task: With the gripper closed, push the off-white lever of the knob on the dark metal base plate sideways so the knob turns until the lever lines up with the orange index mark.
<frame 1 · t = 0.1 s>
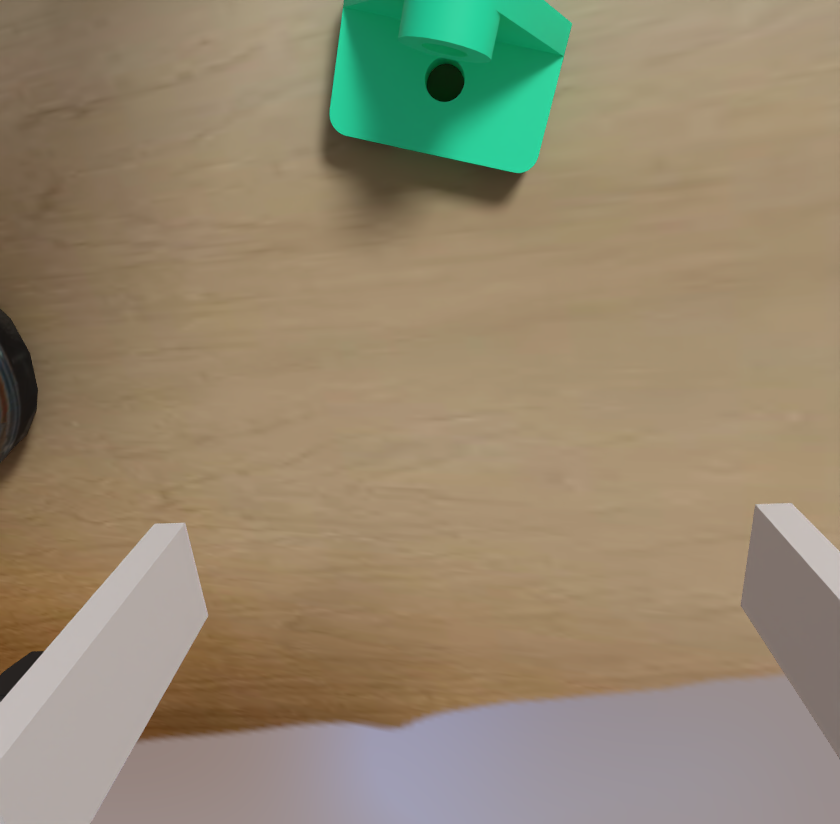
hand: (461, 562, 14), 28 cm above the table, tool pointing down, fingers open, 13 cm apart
camera mount: (445, 86, 36), on the table
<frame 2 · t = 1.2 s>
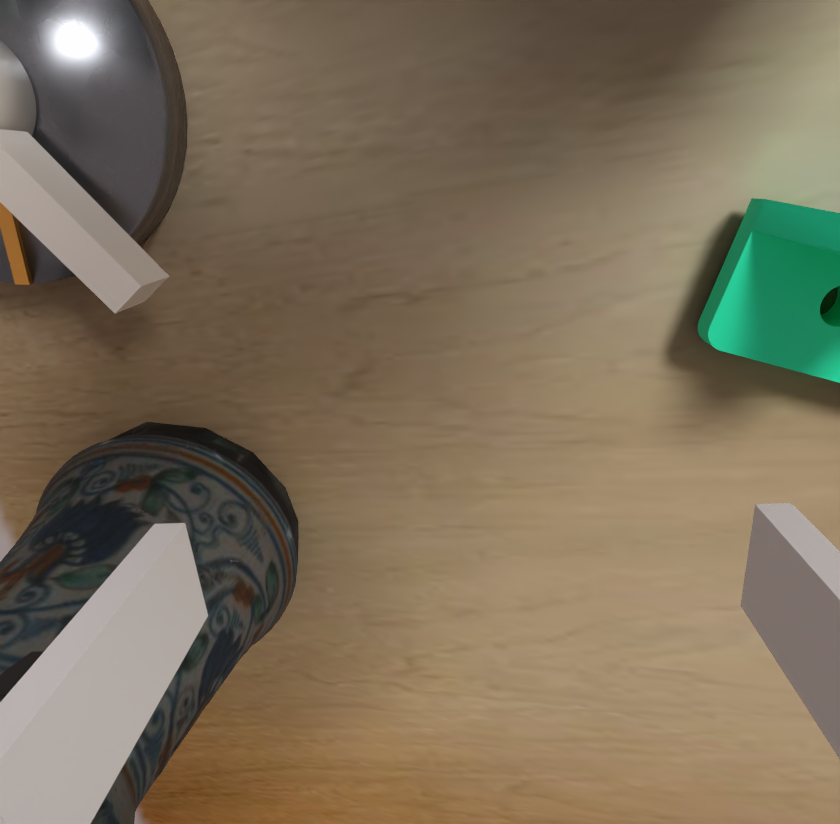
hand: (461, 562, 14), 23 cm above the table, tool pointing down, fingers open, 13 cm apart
camera mount: (812, 295, 34), on the table
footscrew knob: (14, 171, 28), point 6 cm above the table, hinge at 40.0°
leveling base: (20, 104, 32), on the table
beer stein: (196, 545, 42), on the table
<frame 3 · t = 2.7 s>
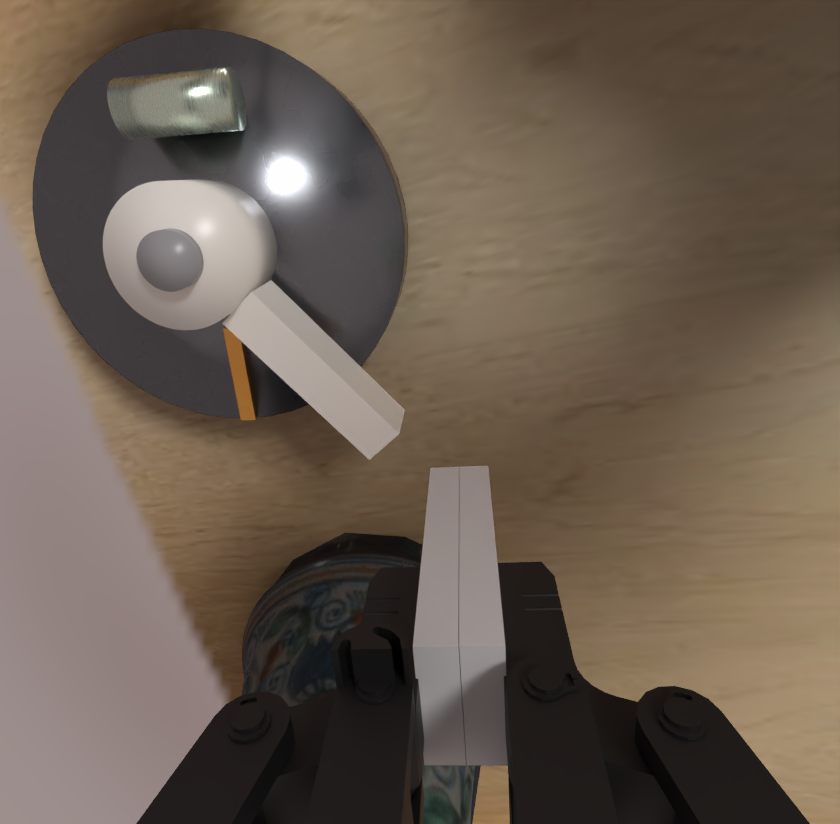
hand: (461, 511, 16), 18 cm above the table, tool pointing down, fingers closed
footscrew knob: (269, 326, 28), point 6 cm above the table, hinge at 40.0°
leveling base: (238, 238, 32), on the table
beer stein: (385, 646, 42), on the table
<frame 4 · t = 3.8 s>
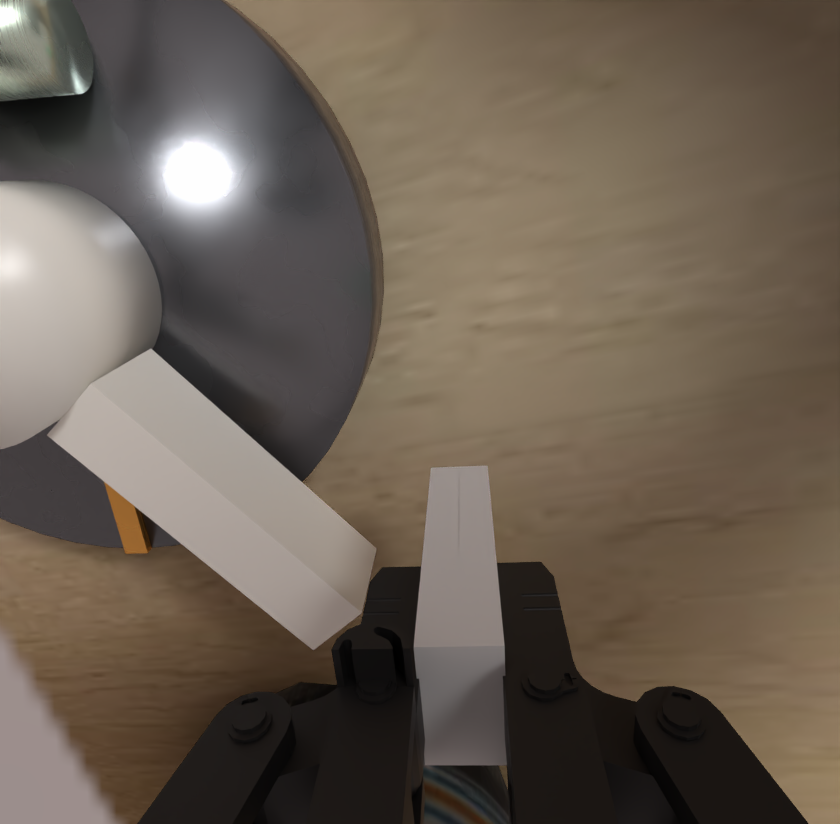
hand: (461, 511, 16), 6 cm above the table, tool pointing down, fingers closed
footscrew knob: (139, 433, 16), point 6 cm above the table, hinge at 40.0°
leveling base: (119, 272, 21), on the table
beer stein: (361, 820, 31), on the table
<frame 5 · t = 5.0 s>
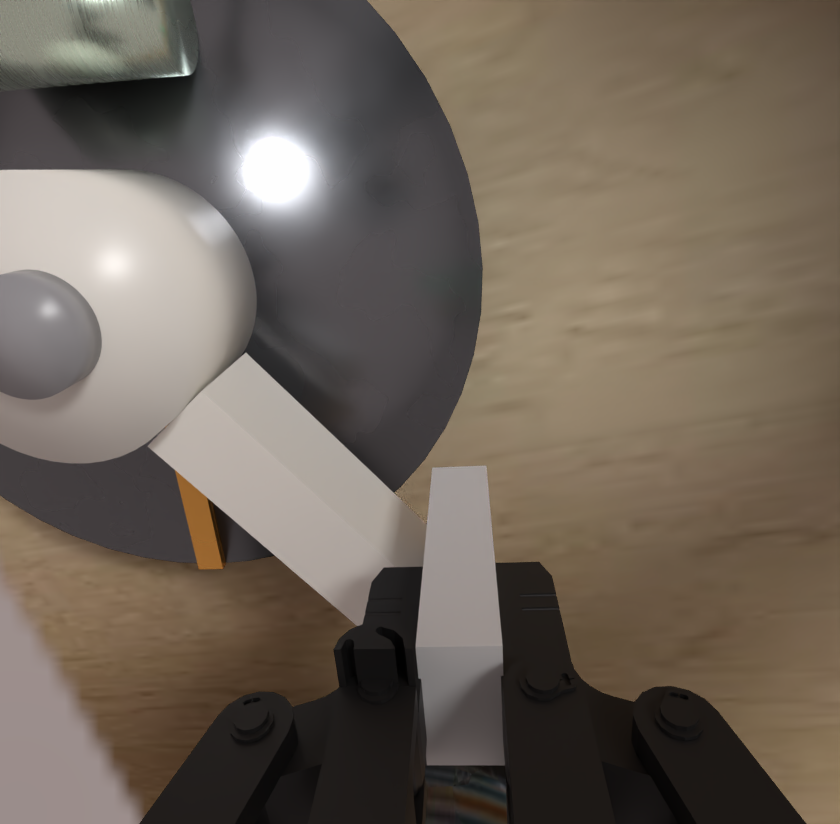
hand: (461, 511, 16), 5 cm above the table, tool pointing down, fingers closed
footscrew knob: (240, 443, 15), point 6 cm above the table, hinge at 39.5°, touching gripper
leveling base: (195, 270, 19), on the table
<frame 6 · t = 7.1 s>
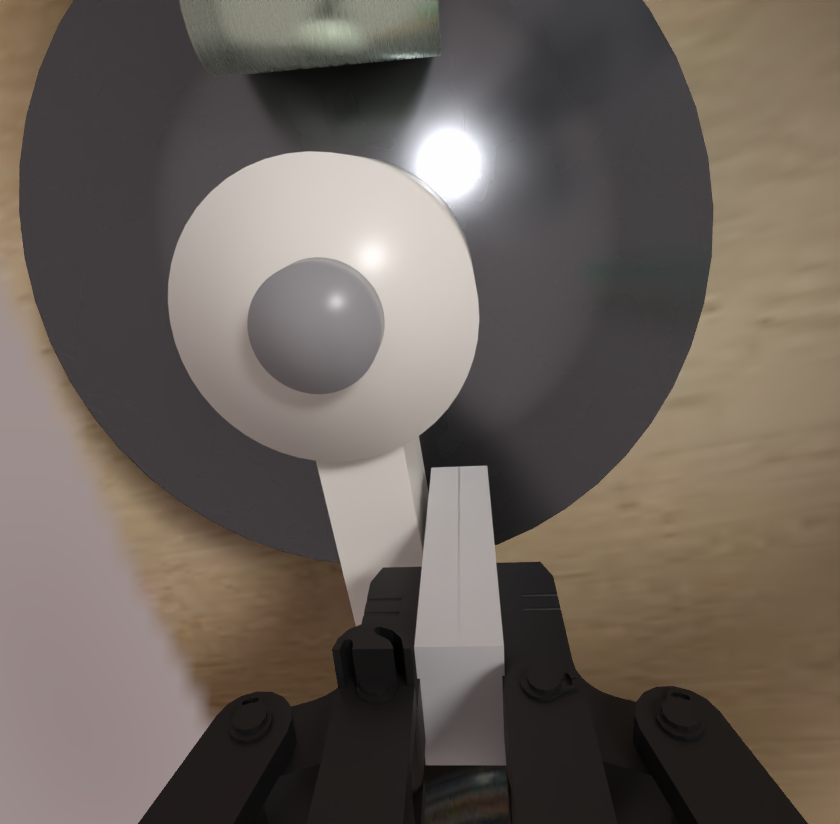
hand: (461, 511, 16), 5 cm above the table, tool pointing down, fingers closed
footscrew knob: (376, 482, 15), point 6 cm above the table, hinge at 4.6°
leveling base: (373, 263, 19), on the table
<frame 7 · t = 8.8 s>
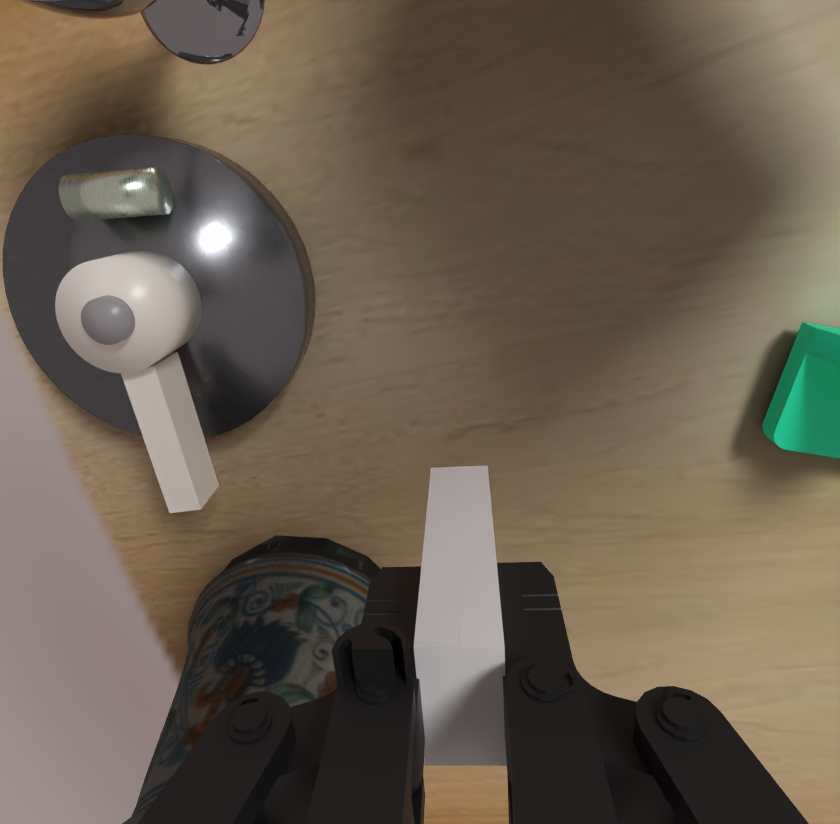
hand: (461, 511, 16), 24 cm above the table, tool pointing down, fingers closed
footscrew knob: (154, 388, 35), point 6 cm above the table, hinge at 4.6°
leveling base: (175, 292, 39), on the table
beer stein: (316, 633, 49), on the table
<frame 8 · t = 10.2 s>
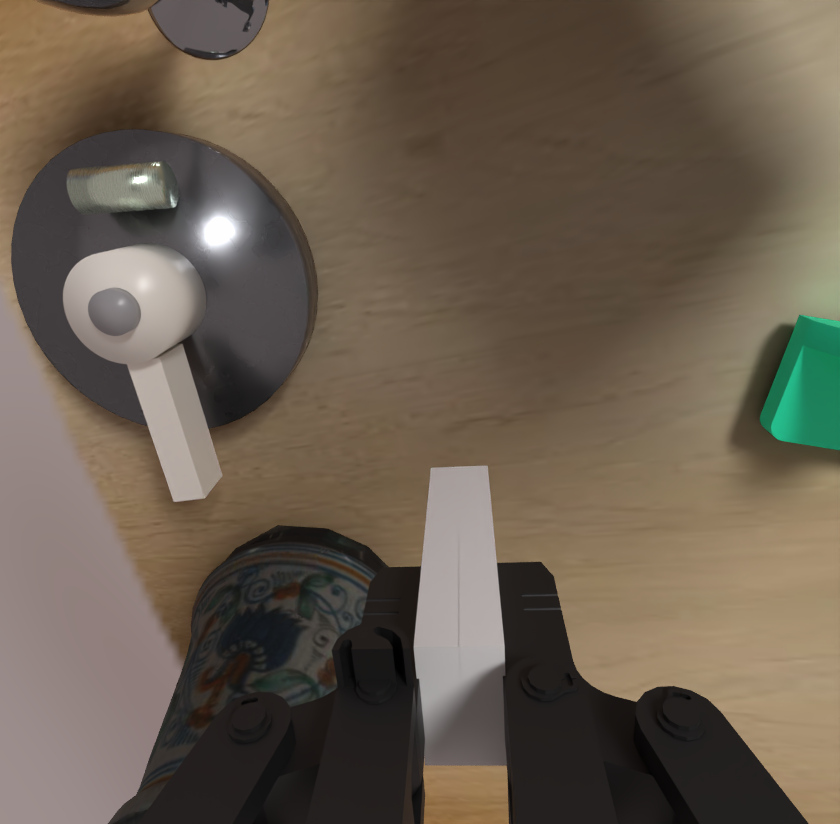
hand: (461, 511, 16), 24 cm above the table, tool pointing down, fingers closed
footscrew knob: (160, 379, 36), point 6 cm above the table, hinge at 4.6°
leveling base: (180, 284, 39), on the table
beer stein: (317, 622, 49), on the table
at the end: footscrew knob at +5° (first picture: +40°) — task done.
